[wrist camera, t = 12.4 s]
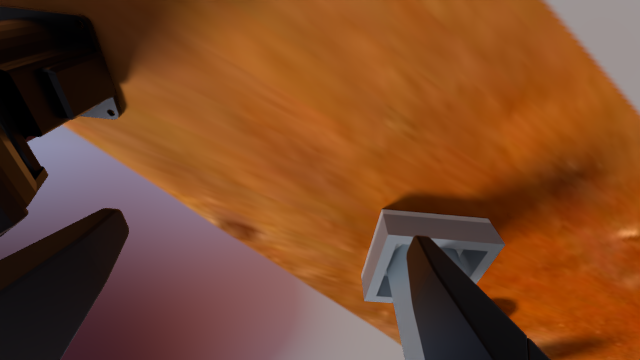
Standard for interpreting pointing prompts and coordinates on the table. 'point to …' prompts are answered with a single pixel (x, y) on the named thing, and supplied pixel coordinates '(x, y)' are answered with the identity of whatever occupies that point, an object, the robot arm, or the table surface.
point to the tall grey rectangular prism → (408, 300)
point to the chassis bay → (445, 230)
